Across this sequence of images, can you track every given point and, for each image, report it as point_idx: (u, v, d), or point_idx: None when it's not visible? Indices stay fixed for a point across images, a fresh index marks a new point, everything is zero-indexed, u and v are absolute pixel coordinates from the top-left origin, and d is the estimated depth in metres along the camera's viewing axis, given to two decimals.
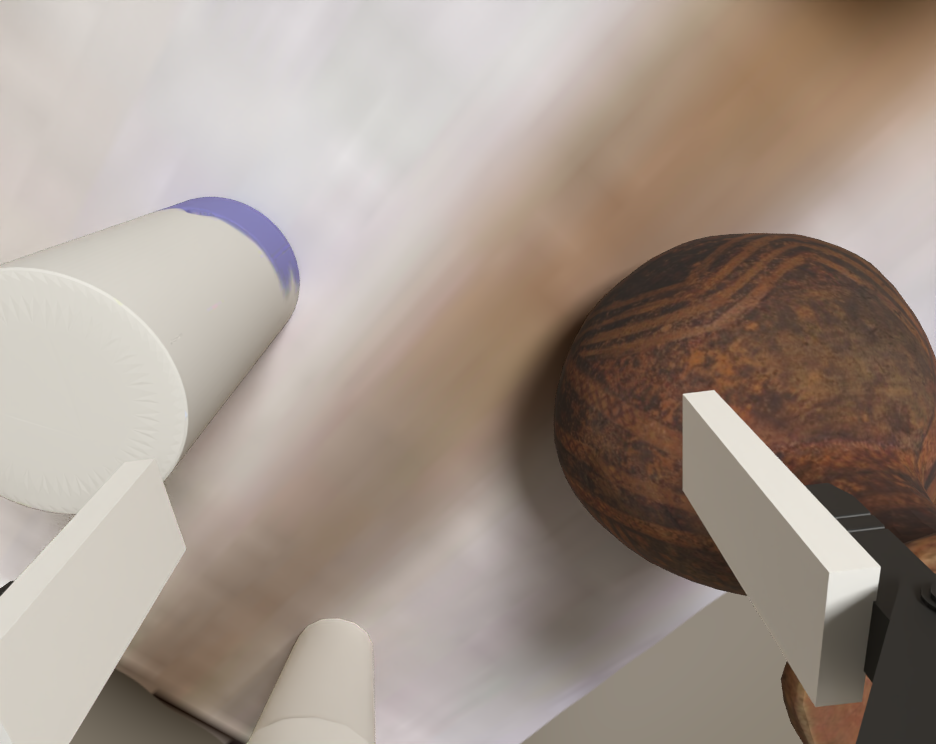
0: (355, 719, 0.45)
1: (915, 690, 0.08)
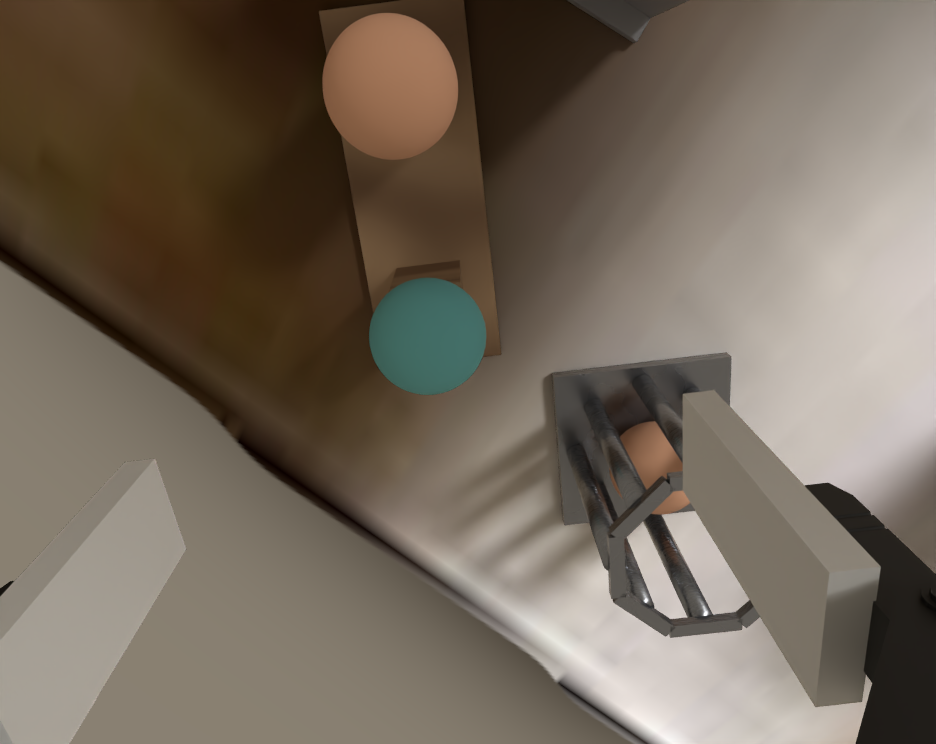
0: None
1: (915, 690, 0.08)
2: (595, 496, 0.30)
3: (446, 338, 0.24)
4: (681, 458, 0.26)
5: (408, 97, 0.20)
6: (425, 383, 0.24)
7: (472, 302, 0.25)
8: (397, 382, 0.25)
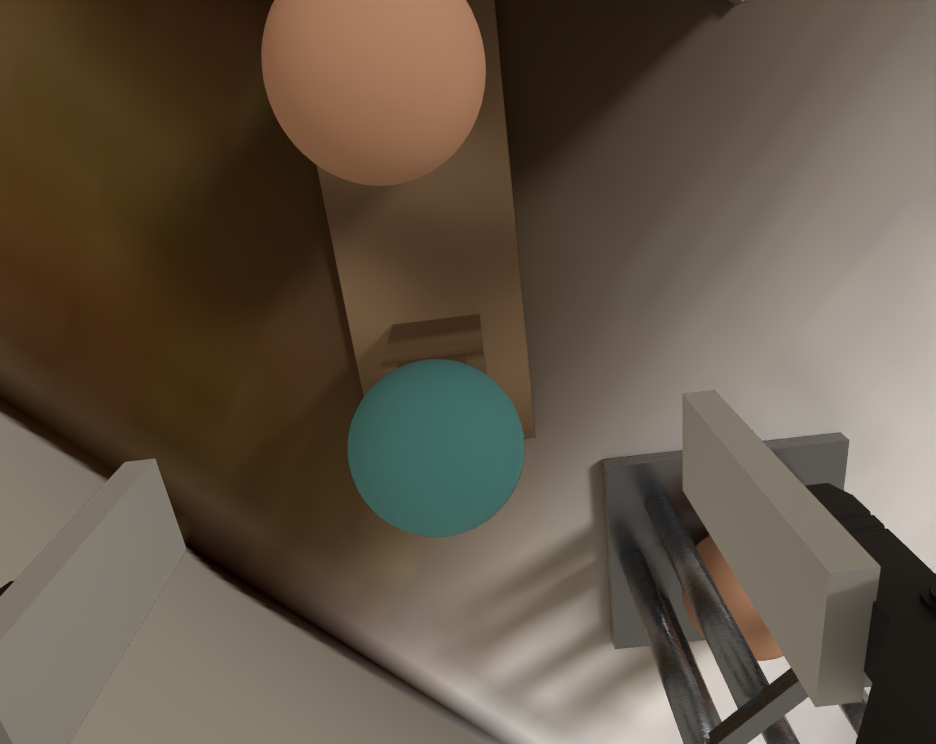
0: None
1: (915, 690, 0.08)
2: (671, 648, 0.21)
3: (465, 467, 0.15)
4: None
5: (403, 83, 0.12)
6: (432, 529, 0.16)
7: (504, 400, 0.16)
8: (390, 523, 0.16)
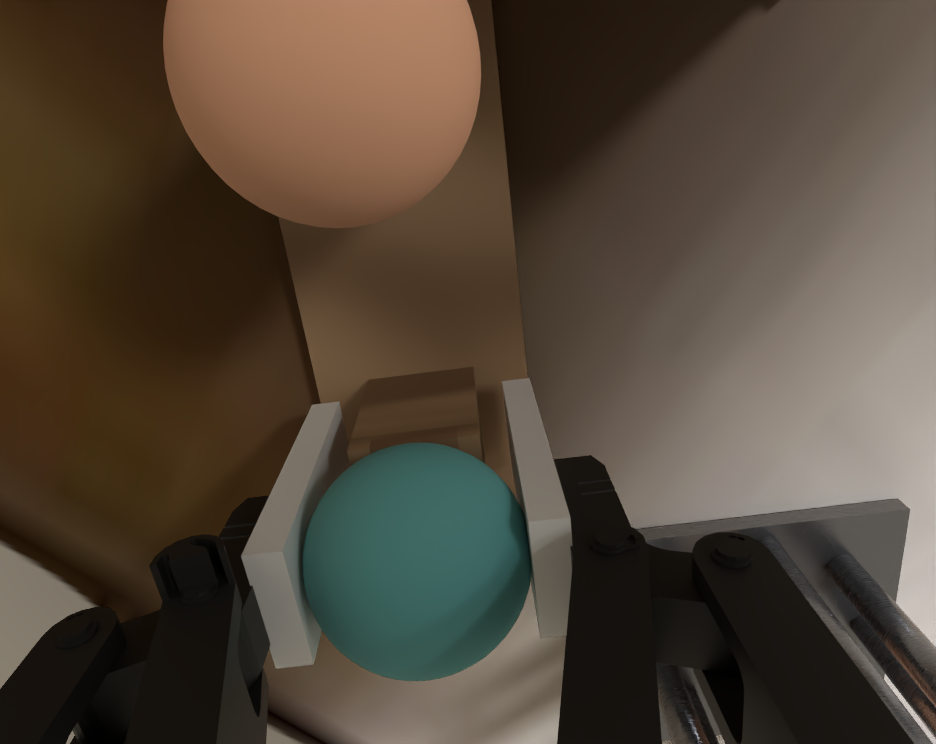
0: None
1: (597, 623, 0.09)
2: None
3: (455, 603, 0.11)
4: None
5: (360, 89, 0.08)
6: (412, 677, 0.12)
7: (507, 501, 0.12)
8: (357, 664, 0.12)
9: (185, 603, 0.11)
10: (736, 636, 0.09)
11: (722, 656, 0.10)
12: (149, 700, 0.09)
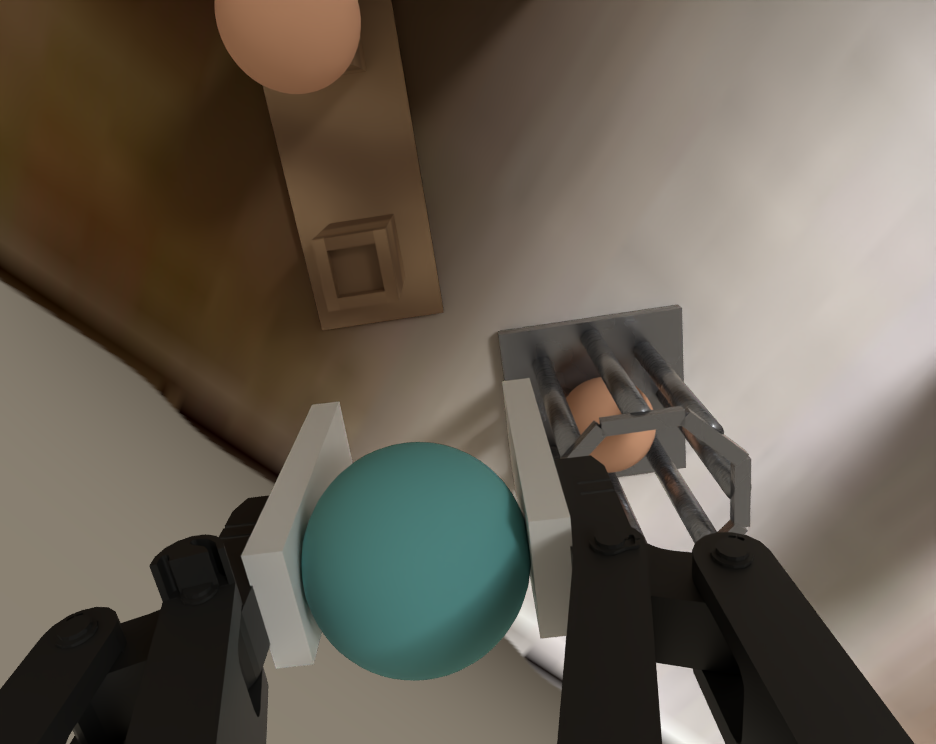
0: None
1: (597, 623, 0.09)
2: None
3: (453, 602, 0.11)
4: (618, 404, 0.25)
5: (298, 18, 0.19)
6: (411, 677, 0.12)
7: (505, 501, 0.12)
8: (356, 663, 0.12)
9: (185, 603, 0.11)
10: (736, 636, 0.09)
11: (722, 656, 0.10)
12: (149, 700, 0.09)
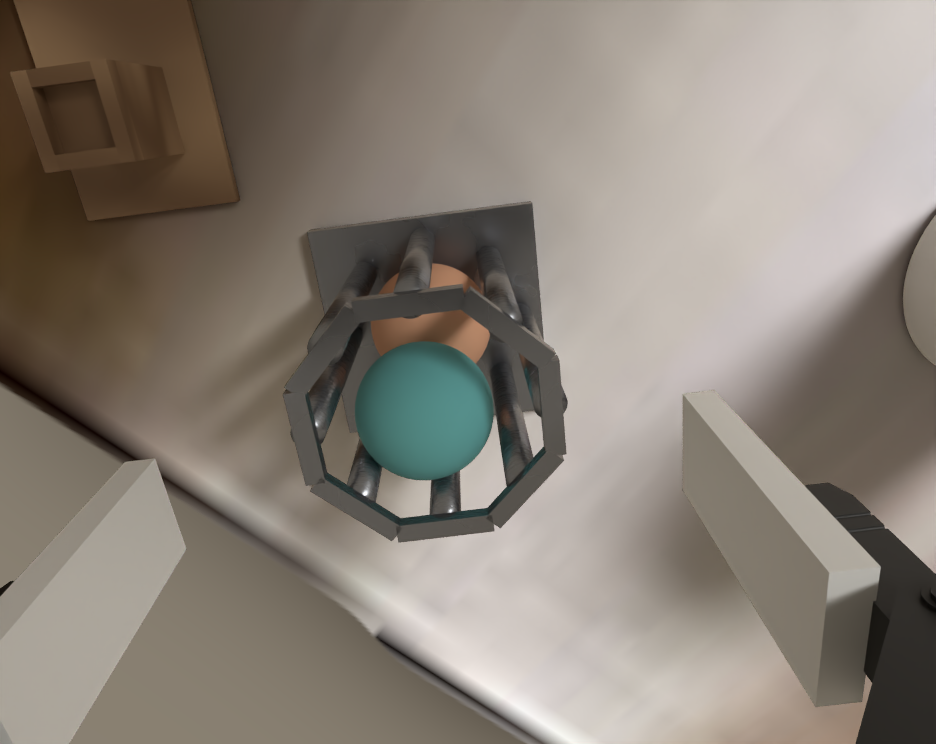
0: None
1: (915, 690, 0.08)
2: (328, 368, 0.23)
3: (446, 473, 0.21)
4: None
5: None
6: None
7: (476, 415, 0.20)
8: None
9: None
10: None
11: None
12: None
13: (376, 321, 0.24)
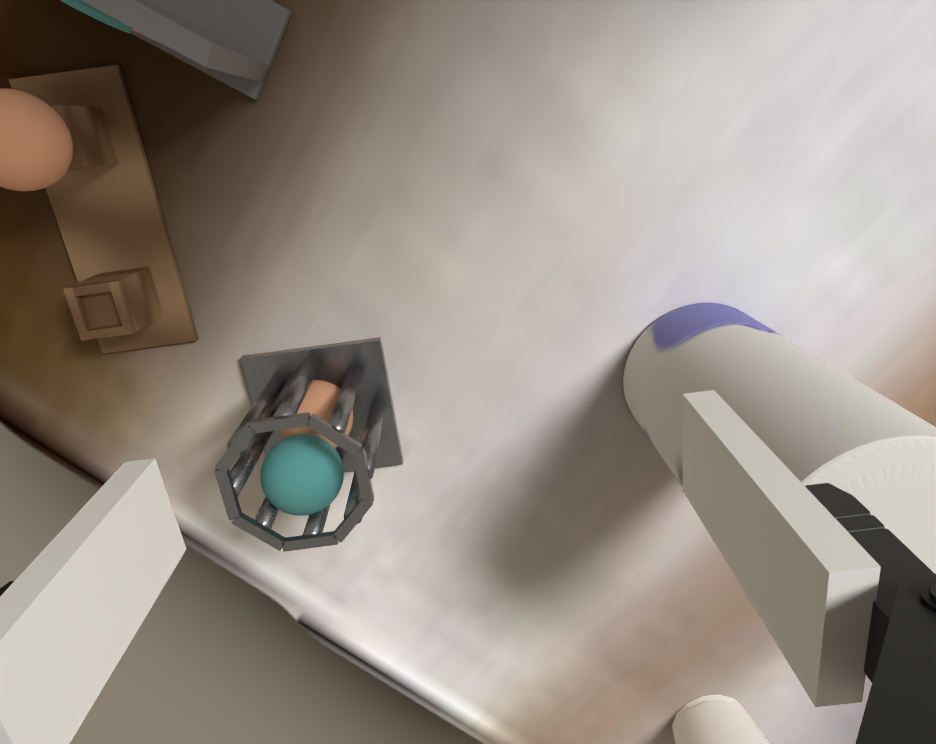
0: None
1: (915, 690, 0.08)
2: (248, 448, 0.38)
3: (312, 511, 0.36)
4: None
5: (5, 148, 0.29)
6: None
7: (327, 478, 0.36)
8: None
9: None
10: None
11: None
12: None
13: None
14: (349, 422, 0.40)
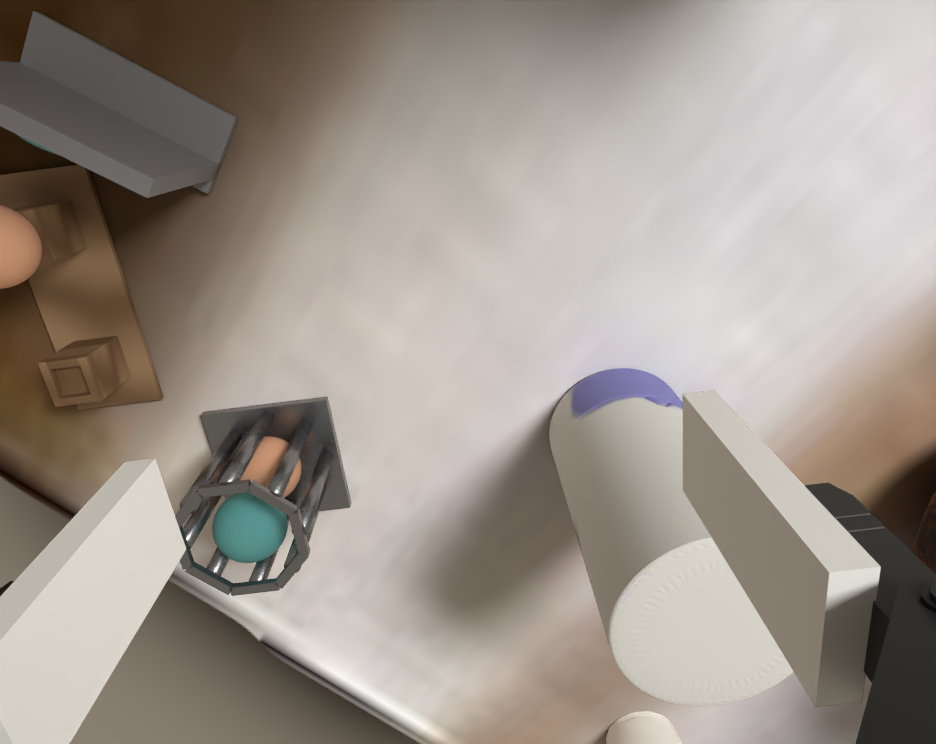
0: None
1: (915, 690, 0.08)
2: (204, 500, 0.43)
3: (257, 560, 0.41)
4: None
5: None
6: None
7: (270, 532, 0.41)
8: None
9: None
10: None
11: None
12: None
13: None
14: (296, 475, 0.45)
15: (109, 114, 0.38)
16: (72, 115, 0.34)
